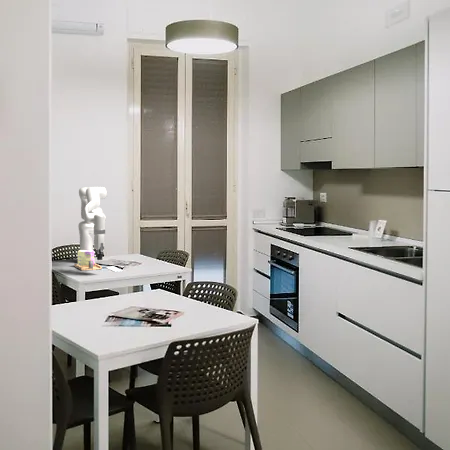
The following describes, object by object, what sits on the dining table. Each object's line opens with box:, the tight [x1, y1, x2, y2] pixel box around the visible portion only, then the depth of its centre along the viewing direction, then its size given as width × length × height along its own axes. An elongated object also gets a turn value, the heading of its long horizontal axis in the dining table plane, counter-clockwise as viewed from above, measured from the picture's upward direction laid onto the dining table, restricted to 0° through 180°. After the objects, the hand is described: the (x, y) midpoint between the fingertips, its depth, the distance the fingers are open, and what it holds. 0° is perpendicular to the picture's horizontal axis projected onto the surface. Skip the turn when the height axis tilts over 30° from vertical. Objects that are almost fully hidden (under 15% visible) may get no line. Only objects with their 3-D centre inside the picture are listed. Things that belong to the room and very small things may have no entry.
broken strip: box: [105, 266, 123, 273], centre depth 413 cm, size 20×6×1 cm, turn 28°
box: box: [77, 249, 95, 266], centre depth 421 cm, size 10×6×12 cm, turn 78°
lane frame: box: [73, 261, 103, 271], centre depth 418 cm, size 20×14×6 cm
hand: (99, 259), depth 391 cm, fingers closed
